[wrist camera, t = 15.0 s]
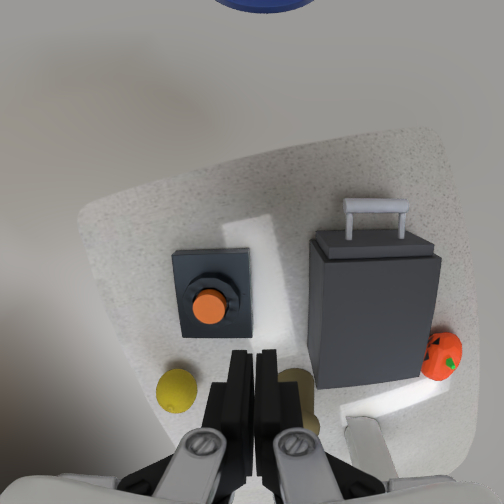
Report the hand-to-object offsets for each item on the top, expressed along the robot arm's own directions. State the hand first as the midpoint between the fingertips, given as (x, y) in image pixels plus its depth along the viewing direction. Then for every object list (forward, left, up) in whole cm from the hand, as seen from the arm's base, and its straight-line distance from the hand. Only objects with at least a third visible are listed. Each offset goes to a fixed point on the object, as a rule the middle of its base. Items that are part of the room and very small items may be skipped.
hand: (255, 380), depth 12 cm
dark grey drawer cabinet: (+8, +12, -27) cm, 31 cm away
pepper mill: (+22, +4, -27) cm, 35 cm away
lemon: (+20, -12, -27) cm, 36 cm away
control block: (+7, -6, -27) cm, 29 cm away
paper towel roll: (+33, +16, -27) cm, 46 cm away
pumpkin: (+18, +26, -27) cm, 42 cm away
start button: (+7, -6, -24) cm, 25 cm away
